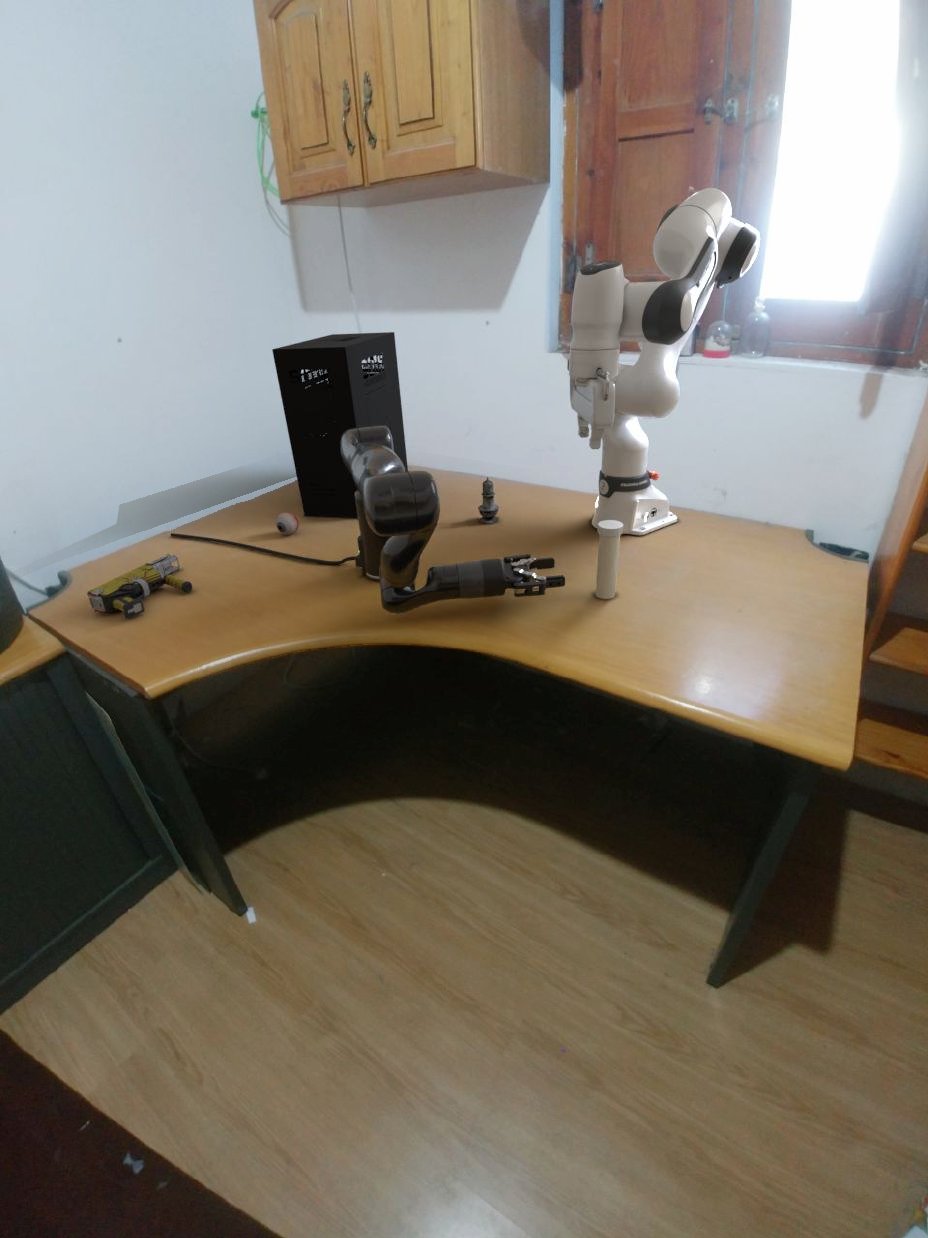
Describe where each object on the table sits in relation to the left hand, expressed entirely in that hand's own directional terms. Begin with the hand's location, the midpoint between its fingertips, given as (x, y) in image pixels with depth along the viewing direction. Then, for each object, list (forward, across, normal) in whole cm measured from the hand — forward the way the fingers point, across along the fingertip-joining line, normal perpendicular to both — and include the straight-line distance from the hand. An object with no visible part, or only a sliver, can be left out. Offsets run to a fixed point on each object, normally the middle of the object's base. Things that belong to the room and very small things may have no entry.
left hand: (559, 571), depth 122 cm
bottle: (+10, 0, +7) cm, 12 cm away
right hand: (+7, +7, -24) cm, 25 cm away
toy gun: (-88, +21, +7) cm, 90 cm away
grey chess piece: (-7, +49, +7) cm, 50 cm away
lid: (+10, 0, -9) cm, 13 cm away
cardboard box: (-44, +80, +7) cm, 91 cm away
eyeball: (-62, +52, +7) cm, 81 cm away
